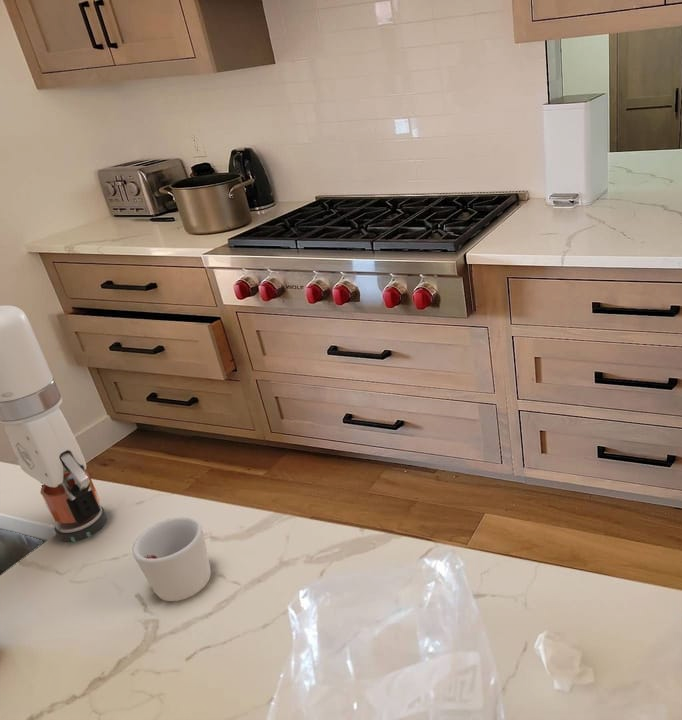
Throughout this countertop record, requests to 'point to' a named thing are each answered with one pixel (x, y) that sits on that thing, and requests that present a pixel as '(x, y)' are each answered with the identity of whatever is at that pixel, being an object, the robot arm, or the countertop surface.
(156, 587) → the cup
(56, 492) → the terracotta plant pot
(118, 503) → the countertop surface
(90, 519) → the scale
